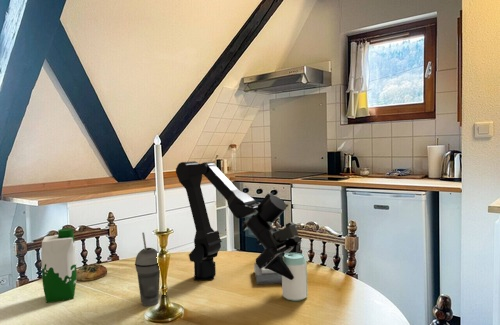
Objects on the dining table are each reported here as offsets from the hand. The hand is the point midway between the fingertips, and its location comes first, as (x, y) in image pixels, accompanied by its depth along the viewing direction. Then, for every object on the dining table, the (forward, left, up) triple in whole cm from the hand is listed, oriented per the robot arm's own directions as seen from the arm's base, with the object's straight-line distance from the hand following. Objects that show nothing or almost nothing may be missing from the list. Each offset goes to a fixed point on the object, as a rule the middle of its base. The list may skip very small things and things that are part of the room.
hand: (298, 274), depth 104 cm
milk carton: (-70, +10, -7) cm, 71 cm away
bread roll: (-68, +28, -7) cm, 74 cm away
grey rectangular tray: (-4, +18, -7) cm, 19 cm away
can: (-1, +1, -7) cm, 7 cm away
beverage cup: (-42, +2, -7) cm, 43 cm away
